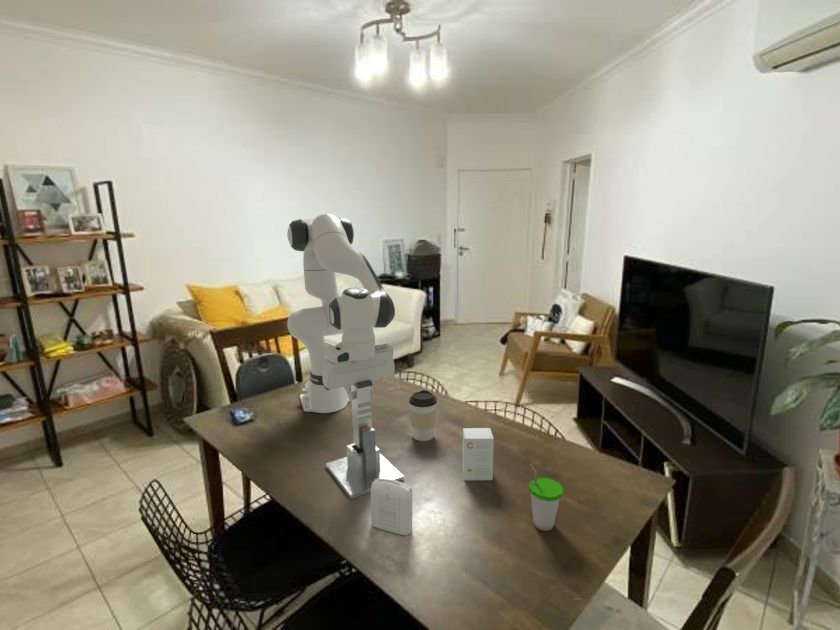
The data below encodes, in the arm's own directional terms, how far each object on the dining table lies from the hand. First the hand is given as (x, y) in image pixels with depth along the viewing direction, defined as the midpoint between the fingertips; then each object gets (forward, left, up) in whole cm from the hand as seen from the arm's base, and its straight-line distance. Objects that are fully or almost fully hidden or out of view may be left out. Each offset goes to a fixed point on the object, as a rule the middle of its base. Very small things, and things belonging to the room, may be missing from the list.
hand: (360, 396), depth 124 cm
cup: (+43, +27, -24) cm, 56 cm away
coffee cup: (-9, +26, -24) cm, 36 cm away
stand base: (0, 0, -24) cm, 24 cm away
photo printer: (+24, -4, -24) cm, 34 cm away
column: (0, 0, -14) cm, 14 cm away
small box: (+18, +27, -24) cm, 40 cm away
